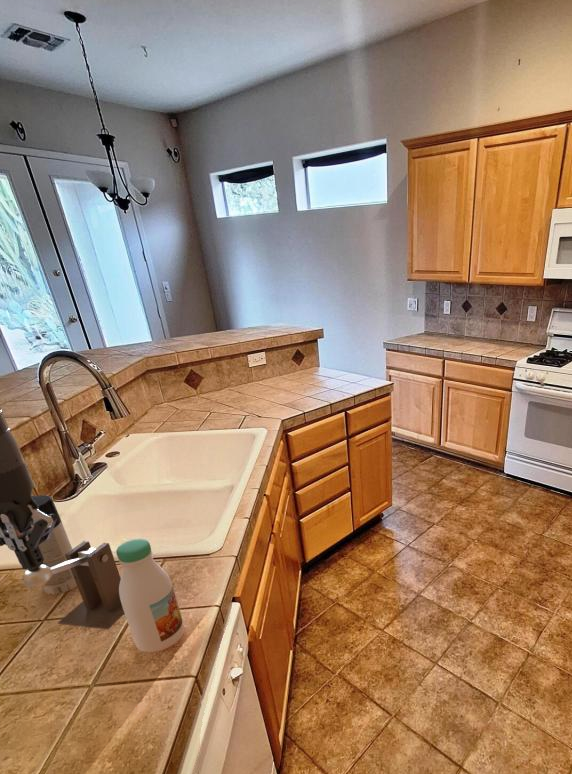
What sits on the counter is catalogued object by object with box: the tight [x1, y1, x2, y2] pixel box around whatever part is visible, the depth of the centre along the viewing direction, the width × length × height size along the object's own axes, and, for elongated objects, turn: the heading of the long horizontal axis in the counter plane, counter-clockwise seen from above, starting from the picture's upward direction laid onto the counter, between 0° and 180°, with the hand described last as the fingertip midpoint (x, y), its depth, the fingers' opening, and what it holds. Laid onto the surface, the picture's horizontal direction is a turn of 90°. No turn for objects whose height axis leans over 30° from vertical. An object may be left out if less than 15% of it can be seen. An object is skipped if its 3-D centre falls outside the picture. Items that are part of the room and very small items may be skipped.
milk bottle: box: [115, 538, 185, 653], centre depth 72 cm, size 8×8×20 cm
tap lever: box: [22, 547, 97, 589], centre depth 72 cm, size 13×4×4 cm, turn 173°
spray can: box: [31, 494, 78, 595], centre depth 83 cm, size 7×7×20 cm
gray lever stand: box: [57, 540, 125, 630], centre depth 80 cm, size 12×10×14 cm
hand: (34, 566), depth 67 cm, fingers closed
